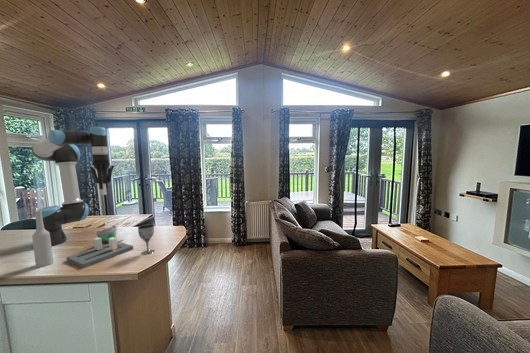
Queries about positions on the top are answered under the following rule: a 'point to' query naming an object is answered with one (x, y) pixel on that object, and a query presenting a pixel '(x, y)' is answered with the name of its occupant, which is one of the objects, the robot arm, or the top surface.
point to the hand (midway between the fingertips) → (104, 194)
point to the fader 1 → (98, 243)
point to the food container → (107, 234)
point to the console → (98, 254)
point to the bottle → (42, 243)
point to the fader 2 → (112, 243)
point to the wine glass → (146, 236)
